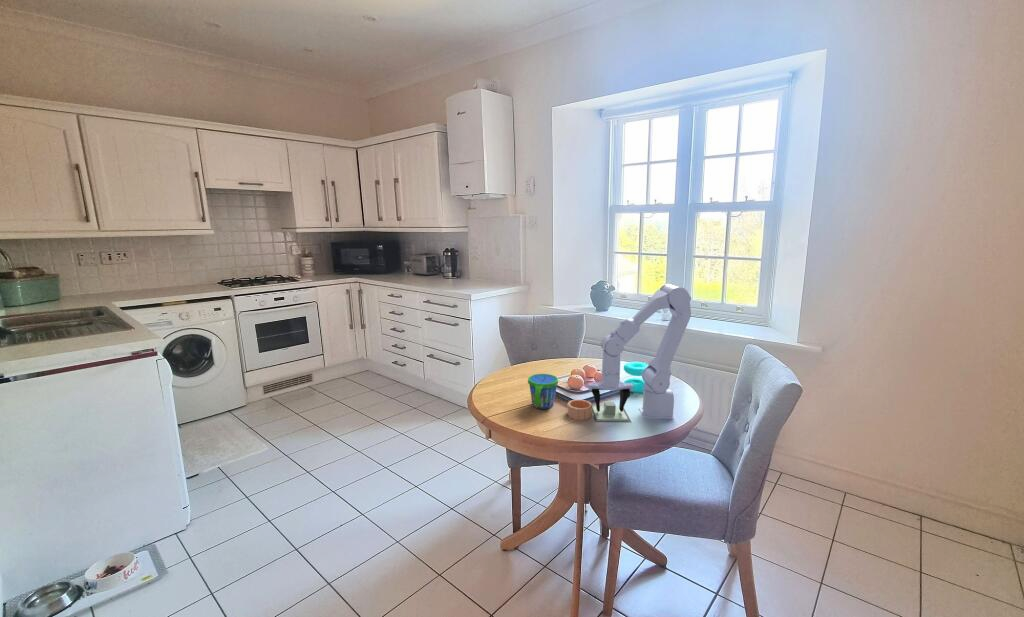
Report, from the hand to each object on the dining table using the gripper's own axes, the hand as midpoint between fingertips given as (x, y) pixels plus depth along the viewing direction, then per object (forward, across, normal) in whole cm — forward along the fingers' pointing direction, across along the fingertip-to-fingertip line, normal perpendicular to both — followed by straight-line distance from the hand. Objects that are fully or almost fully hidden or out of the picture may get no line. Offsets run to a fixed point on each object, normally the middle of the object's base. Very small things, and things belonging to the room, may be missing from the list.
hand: (609, 410), depth 145 cm
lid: (+1, 0, 0) cm, 1 cm away
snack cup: (+2, -22, +8) cm, 24 cm away
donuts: (+2, +15, +24) cm, 28 cm away
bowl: (+2, -10, 0) cm, 10 cm away
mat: (+2, 0, 0) cm, 2 cm away
